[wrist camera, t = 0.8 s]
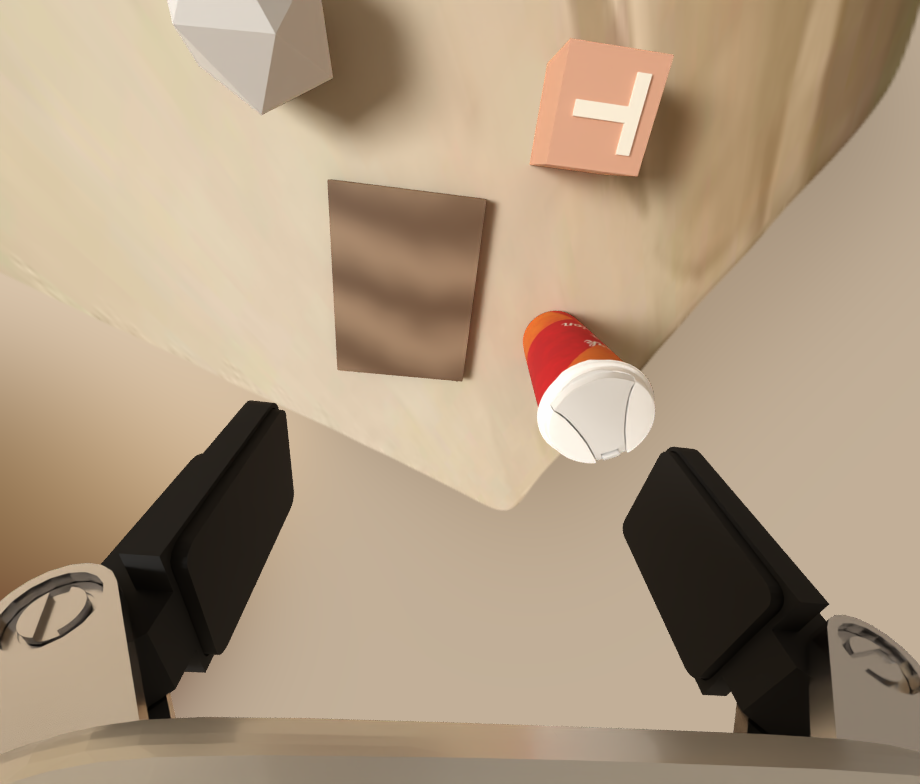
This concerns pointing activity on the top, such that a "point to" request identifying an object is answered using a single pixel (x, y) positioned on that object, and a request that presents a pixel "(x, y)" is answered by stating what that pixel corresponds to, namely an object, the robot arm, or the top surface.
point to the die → (257, 46)
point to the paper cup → (585, 391)
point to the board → (403, 278)
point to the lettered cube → (598, 107)
